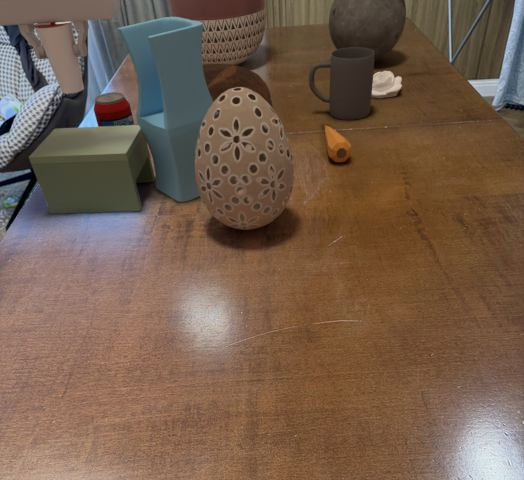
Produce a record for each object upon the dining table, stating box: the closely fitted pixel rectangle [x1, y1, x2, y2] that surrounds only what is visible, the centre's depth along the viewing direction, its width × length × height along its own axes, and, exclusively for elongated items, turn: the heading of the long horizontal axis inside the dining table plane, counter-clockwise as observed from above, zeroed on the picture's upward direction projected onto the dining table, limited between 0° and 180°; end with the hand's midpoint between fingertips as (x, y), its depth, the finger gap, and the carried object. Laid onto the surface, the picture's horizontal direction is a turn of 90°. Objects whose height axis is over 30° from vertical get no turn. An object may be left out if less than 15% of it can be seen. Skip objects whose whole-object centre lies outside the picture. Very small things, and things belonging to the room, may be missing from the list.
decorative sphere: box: [328, 0, 407, 62], centre depth 133 cm, size 20×20×20 cm
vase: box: [117, 16, 220, 203], centre depth 83 cm, size 10×10×25 cm
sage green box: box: [28, 124, 156, 215], centre depth 87 cm, size 16×12×10 cm
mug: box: [308, 47, 375, 121], centre depth 109 cm, size 14×9×12 cm
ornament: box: [195, 87, 295, 231], centre depth 74 cm, size 15×15×20 cm
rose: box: [371, 70, 403, 99], centre depth 120 cm, size 10×4×10 cm
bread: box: [203, 64, 272, 116], centre depth 117 cm, size 28×27×9 cm
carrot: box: [324, 124, 352, 163], centre depth 100 cm, size 20×4×4 cm, turn 4°
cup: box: [34, 21, 85, 95], centre depth 74 cm, size 5×5×12 cm
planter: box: [167, 0, 267, 66], centre depth 138 cm, size 27×27×27 cm
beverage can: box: [93, 91, 135, 127], centre depth 97 cm, size 7×7×12 cm
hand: (62, 57), depth 75 cm, fingers closed on cup, 4 cm apart
